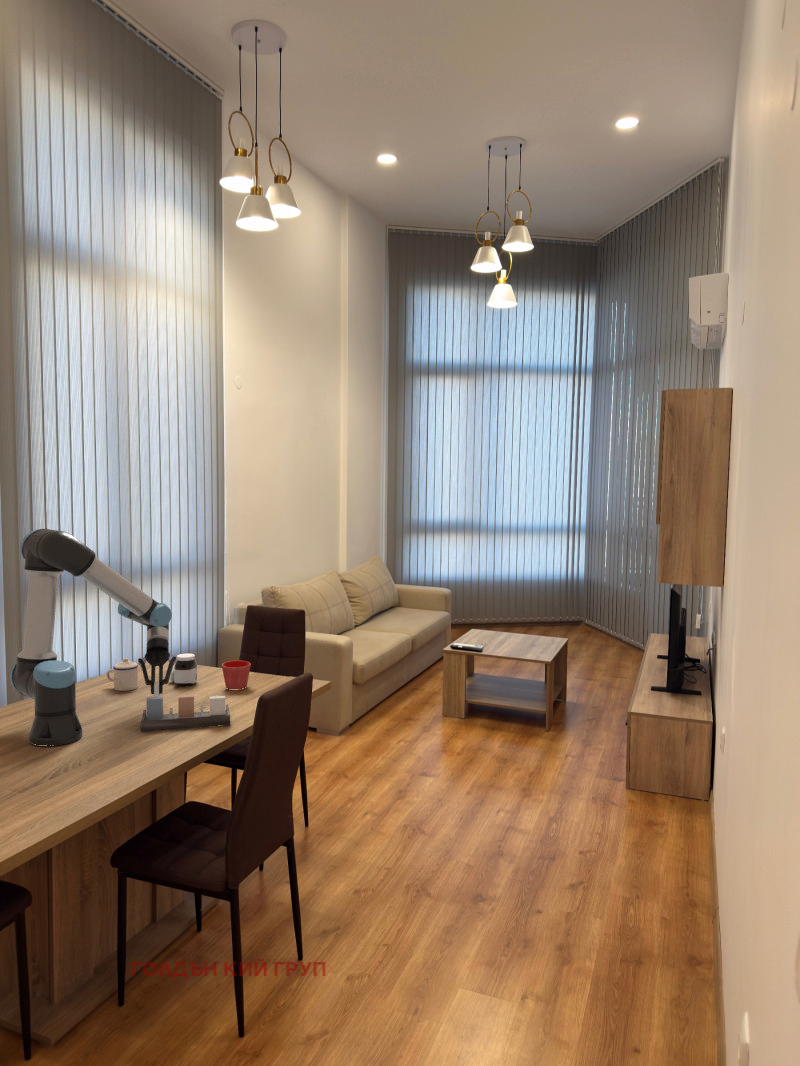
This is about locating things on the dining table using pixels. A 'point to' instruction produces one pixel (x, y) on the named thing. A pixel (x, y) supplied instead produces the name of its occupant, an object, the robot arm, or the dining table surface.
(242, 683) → the flower pot
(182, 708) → the key terracotta
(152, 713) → the key slate
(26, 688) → the robot arm
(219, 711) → the key offwhite
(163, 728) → the grey compartment tray
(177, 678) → the spread jar
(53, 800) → the dining table surface
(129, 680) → the teacup with lid
